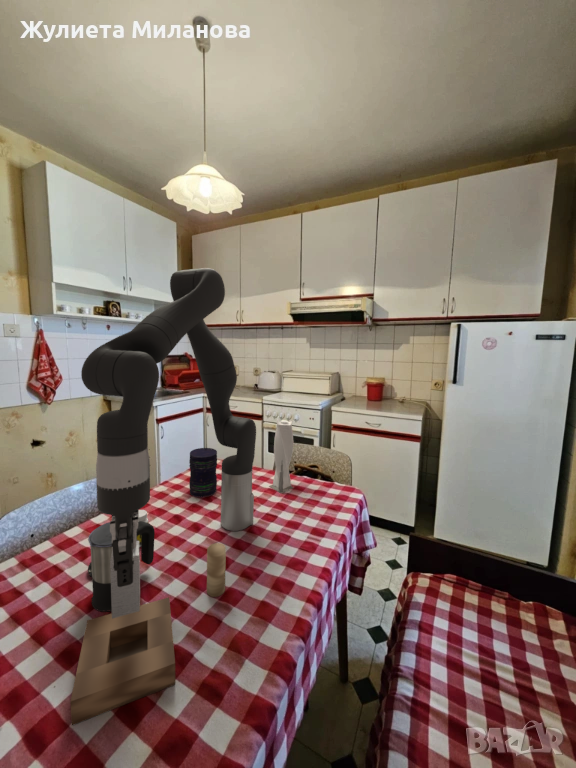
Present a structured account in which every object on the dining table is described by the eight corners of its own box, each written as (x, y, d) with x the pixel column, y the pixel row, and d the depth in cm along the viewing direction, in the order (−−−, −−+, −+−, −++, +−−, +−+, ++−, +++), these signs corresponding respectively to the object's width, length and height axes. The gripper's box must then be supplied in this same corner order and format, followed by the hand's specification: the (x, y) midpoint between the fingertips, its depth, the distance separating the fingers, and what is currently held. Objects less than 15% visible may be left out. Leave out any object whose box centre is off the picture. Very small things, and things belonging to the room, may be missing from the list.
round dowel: (222, 581, 72) (223, 541, 71) (226, 593, 69) (227, 552, 67) (205, 585, 71) (205, 545, 69) (208, 599, 67) (209, 556, 66)
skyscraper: (266, 485, 122) (269, 416, 118) (281, 480, 127) (284, 413, 124) (280, 493, 116) (283, 421, 112) (296, 487, 121) (299, 418, 118)
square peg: (140, 592, 55) (139, 540, 54) (139, 610, 51) (138, 555, 50) (114, 599, 53) (112, 545, 52) (111, 618, 50) (110, 561, 48)
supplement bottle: (141, 549, 82) (140, 519, 81) (125, 546, 83) (124, 517, 82) (152, 538, 87) (152, 510, 85) (137, 535, 87) (136, 507, 86)
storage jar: (213, 498, 110) (213, 457, 108) (185, 496, 110) (185, 456, 108) (219, 485, 120) (220, 448, 118) (194, 484, 120) (194, 447, 118)
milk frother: (119, 617, 62) (117, 549, 60) (52, 602, 65) (48, 536, 63) (161, 567, 76) (160, 510, 74) (104, 557, 79) (102, 502, 77)
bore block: (169, 614, 63) (169, 597, 62) (175, 684, 50) (175, 663, 50) (88, 639, 57) (87, 620, 56) (71, 725, 44) (70, 701, 44)
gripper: (150, 492, 44) (151, 600, 47) (149, 457, 57) (150, 543, 59) (88, 501, 41) (93, 616, 44) (102, 462, 54) (105, 553, 56)
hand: (126, 573), depth 51 cm, fingers closed on square peg, 4 cm apart
